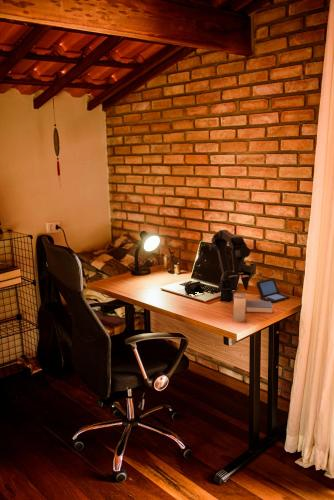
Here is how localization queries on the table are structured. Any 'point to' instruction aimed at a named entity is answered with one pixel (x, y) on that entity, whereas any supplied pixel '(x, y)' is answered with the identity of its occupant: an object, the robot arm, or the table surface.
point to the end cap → (194, 288)
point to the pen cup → (239, 307)
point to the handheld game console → (270, 291)
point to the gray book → (259, 306)
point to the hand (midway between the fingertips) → (241, 290)
